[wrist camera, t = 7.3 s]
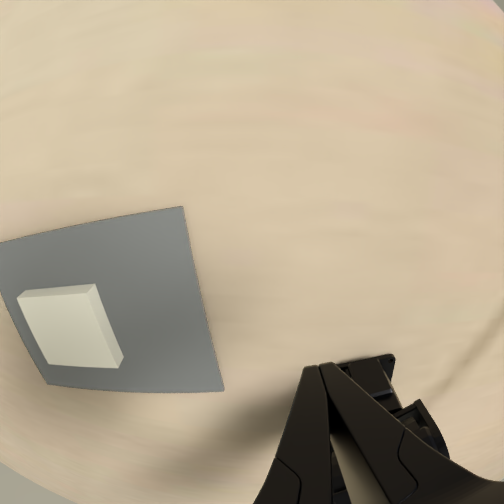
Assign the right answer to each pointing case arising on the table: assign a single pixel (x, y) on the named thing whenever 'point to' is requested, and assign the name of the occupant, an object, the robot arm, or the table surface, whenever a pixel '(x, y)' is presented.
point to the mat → (122, 300)
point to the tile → (71, 326)
